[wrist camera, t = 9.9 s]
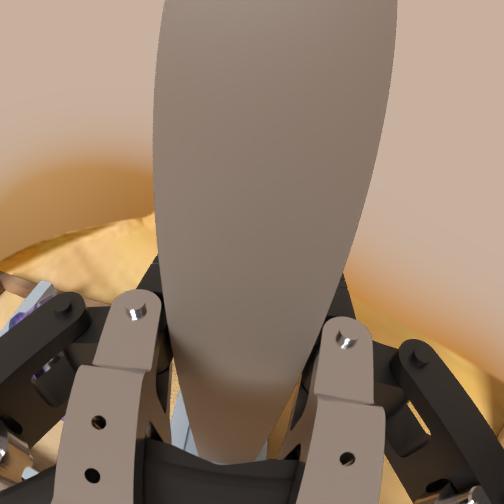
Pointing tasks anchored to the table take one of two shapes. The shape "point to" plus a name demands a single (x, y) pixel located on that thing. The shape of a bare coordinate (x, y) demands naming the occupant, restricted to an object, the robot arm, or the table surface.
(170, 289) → the frame with upright post
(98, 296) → the table surface
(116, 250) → the table surface
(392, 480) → the table surface
